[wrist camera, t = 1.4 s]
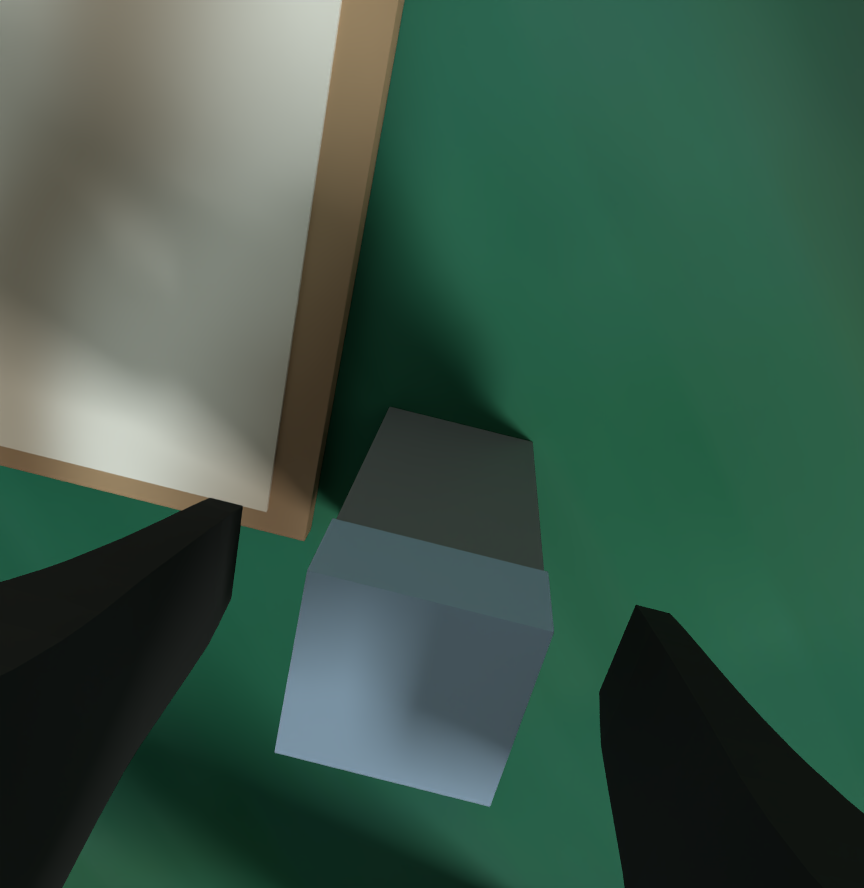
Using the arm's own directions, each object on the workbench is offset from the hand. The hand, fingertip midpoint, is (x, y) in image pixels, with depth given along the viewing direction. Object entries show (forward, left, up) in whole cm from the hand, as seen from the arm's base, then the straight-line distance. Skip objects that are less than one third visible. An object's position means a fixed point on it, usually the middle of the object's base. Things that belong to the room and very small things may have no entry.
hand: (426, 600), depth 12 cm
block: (0, 0, -5) cm, 5 cm away
